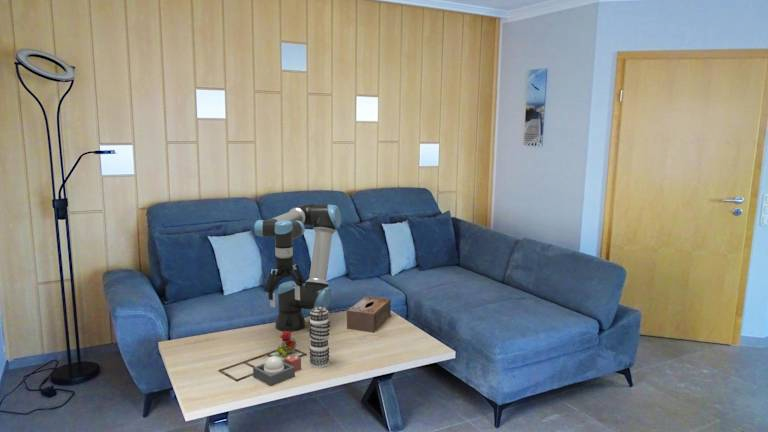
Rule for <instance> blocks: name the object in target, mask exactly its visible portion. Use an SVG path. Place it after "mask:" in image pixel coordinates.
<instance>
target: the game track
mask: <svg viewBox="0 0 768 432" xmlns="http://www.w3.org/2000/svg"><path fill="white" fill-rule="evenodd" d="M286 349H287V348H286ZM285 353H286V354H287V356H286V355H285V356H284V357H283V356H282V354H279V353H278V352H277V351H276V349H275V350H271V351H269V352H265V353H263V354H260V355H257V356H254V357H252V358H249V359H247V360H243V361H240V362H237V363H235V364H231V365H228V366H225V367H223V368H220V369H218V372H219V373H220V374H223V375H225V376H226V377H228V378H230V379H232V380H233V381H235V382H238V381H241V380H245V379H247V378H249V377H252V376H253V372H252V373H249V374H247V375H244V376H242V377H241V376H240V377H239V378H237V377H235V376H233V375H231V374H229V373H228V372H226V371H225V370H228V369H230V368H234V367H237V366H240V365H242V364H245V365H247V366H248V367H250V368H252V369H253V367H256V366H255V365H254V364H251V363H249V362H251V361H254V360H257V359H259V358H263V357H265V356H268V357H272V356H277V357H279V358H280V359H281V360H282V361H283V362H284V358H286V357H288V356H291V355H296V356H298V357H300V358H302V357H305V356H307V355H308V354H307V353H306V352H304V351H302V350H299V349H297V348H295V349H294V350H293V352H292V353H291V352H289V353H287V352H285Z"/></svg>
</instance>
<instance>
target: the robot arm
mask: <svg viewBox="0 0 768 432" xmlns="http://www.w3.org/2000/svg"><path fill="white" fill-rule="evenodd" d="M341 224H342V215H341V210H340V208H339V207H338V206H337V205H336V204H325V203H324V204H323V203H320V204H318V203H306V204H302V205H298V206H295V207H292V208H291V209H289V211H288V212H285V213H283V214H280V215H277V216H275V217H272V218H270V219H267V220H265V219H258V220H256V221H255V223H254V228H253V229H254V230H253V232H254V235H256V236H257V237H262V238H264V237H265V238H274V241H275V242H274V245H275V246H274V247H275V248H274V249H275V250H274V252H275V253H274V255H275V267H276V268H275V269H272V268H271V269H270V270H269V275H268V279H267V280H266V283H265V285H264V286H265V287H264V289H263V291H264V292H266V293H267V294H268V297H267V298H268V300H269V307H271V308H276V292H274V291H275V290H276V288H277V286H278V288H277V297H278V300H277V301H278V303H277V304H278V313H277V317H276V320H275V324H274V327H275V329H276V330H278V331H281V332H283V331H287V332H289V331H290V332H297V331H301V330H302V329H304V328H305V327H306V320H305V316H304V314H303V310H312V308H314V307H318V306H321V307H325V308H326V309H327V308H328V307H329V305H330V303H331V300H332V289H331V287H329V286H330V284H329V283H328V281H327V277H328V268H329V262H330V261H329V259H330V254H331V246H332V239H333V234H334V233H336V231H337V229H338V228H340V226H341ZM305 226H307V227H313V228H312V229H313V231H314V232H315V234H314V241H313V247H312V255H311V262H310V264H311V265H310V268H309V269H310V270H309V278H308V279H307V280H305V279H304V277H303V275H302V273H301V271H300V267H299V264H297V263H294V257H293V255H294V251H293V250H294V245H293V240H296V239H298V238H300V237H301V236H302V235H304V233H305V230H306V229H305V228H306V227H305ZM293 271H294V273H293ZM285 278H290V279H291V280H289V281H285V282H283V283H280V281H282V279H285ZM279 283H280V284H279ZM302 309H303V310H302Z"/></svg>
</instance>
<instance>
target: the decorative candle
mask: <svg viewBox="0 0 768 432" xmlns="http://www.w3.org/2000/svg"><path fill="white" fill-rule="evenodd" d="M308 313H309V317H310V318H309V320H308V322H307V323H308V332H309V333H308V336H309V340H310V344H309V347H310V348H309V351H310V352H309V365H310V367H312V368H314V369H315V368H316V369H318V368H319V369H322V368H325V367H328V366H329V365H330V347H329V340H330V331H331V330H330V329H329V328H330V327H331V325H330V323H331V321H330V320H329V310H328V309H327V308H325V307H321V306H318V307H314V308H312V309H310V310H309V311H308Z"/></svg>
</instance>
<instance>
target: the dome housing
mask: <svg viewBox="0 0 768 432" xmlns="http://www.w3.org/2000/svg"><path fill="white" fill-rule="evenodd" d="M283 364H284V370H282V371H279V372H277V373H274V374H272V375H271V374H269V373H267V372H265V371H264V365H265V362H264V363H261V364H258V365H256V366H255V367H253V368H252V373H253V375H252V376H253V378H255V379H257V380H258V381H260V382H262V383H264V384H266V385H268V386H270V387H272V386H275V385H277V384H279V383H282V382H284V381H287V380H290V379H292V378H294V377H296V372H297V371H300V370H301V369H302V357H298V356H296V355H291V356H288V357H286V358H284V362H283Z"/></svg>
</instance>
